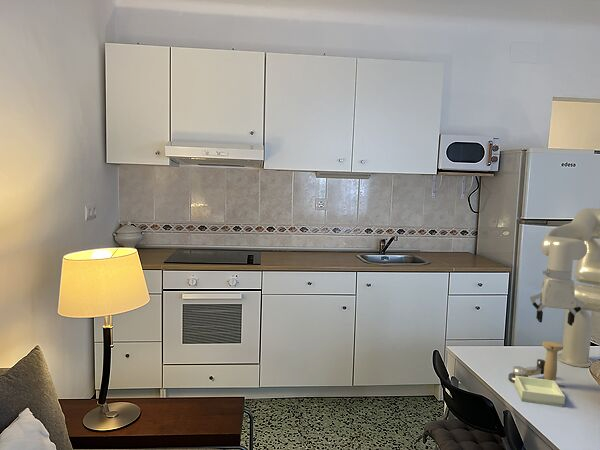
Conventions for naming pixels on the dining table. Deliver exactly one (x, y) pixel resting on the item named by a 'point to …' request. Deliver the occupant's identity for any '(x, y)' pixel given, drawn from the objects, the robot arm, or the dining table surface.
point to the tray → (539, 391)
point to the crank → (530, 369)
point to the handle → (551, 359)
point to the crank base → (512, 378)
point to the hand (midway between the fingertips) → (554, 322)
